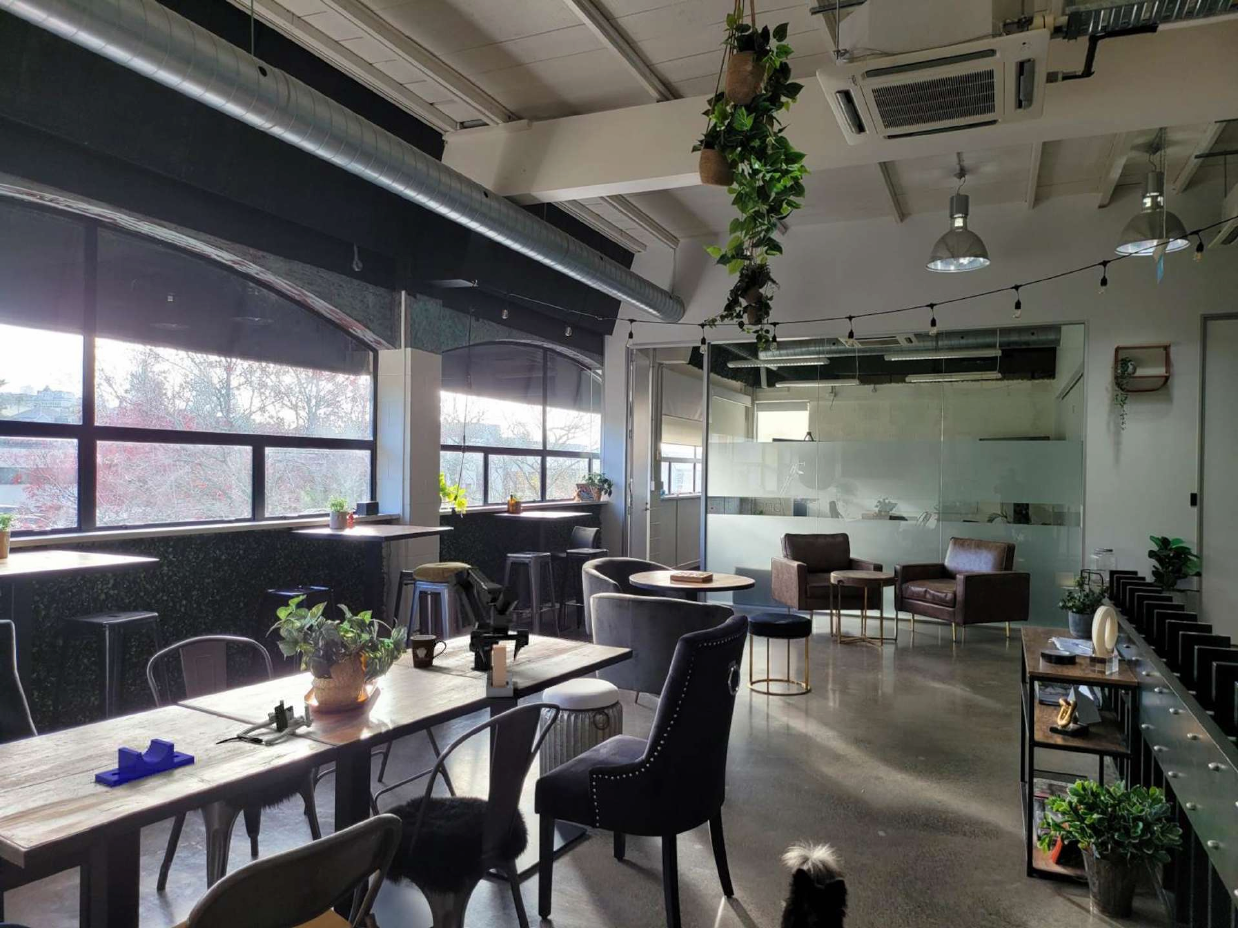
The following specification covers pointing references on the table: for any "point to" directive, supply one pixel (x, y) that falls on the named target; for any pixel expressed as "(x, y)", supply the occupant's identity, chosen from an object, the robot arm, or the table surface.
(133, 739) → the table surface
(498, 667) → the terracotta peg
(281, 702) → the bike brake
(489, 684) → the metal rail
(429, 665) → the coffee mug
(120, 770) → the mounting bracket
